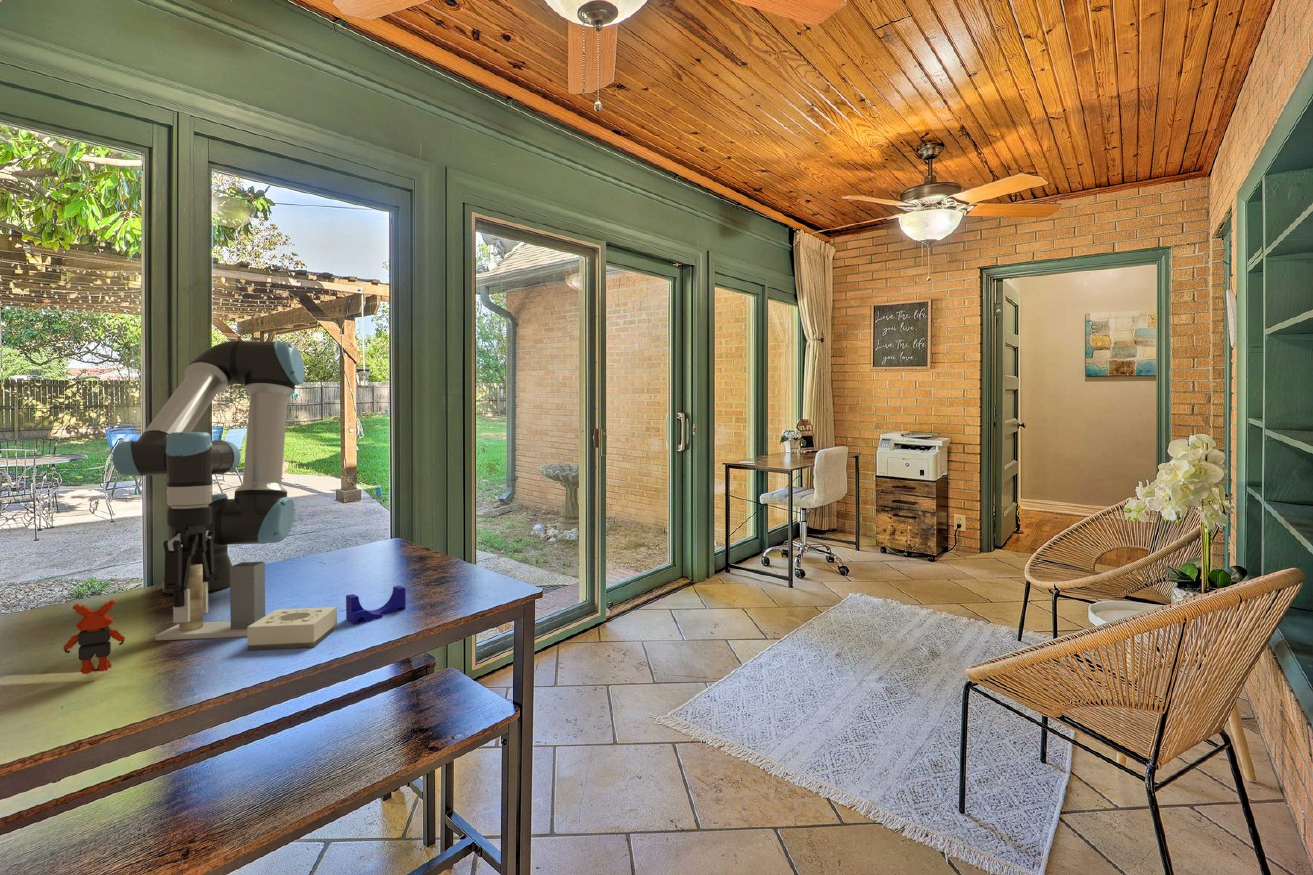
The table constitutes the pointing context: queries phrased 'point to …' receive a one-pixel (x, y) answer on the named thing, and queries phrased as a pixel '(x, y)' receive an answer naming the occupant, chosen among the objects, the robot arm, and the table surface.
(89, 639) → the toy animal
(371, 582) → the table surface
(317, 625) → the socket block
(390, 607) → the blue curved cradle
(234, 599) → the square bar
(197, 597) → the beech dowel
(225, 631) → the strip
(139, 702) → the table surface
